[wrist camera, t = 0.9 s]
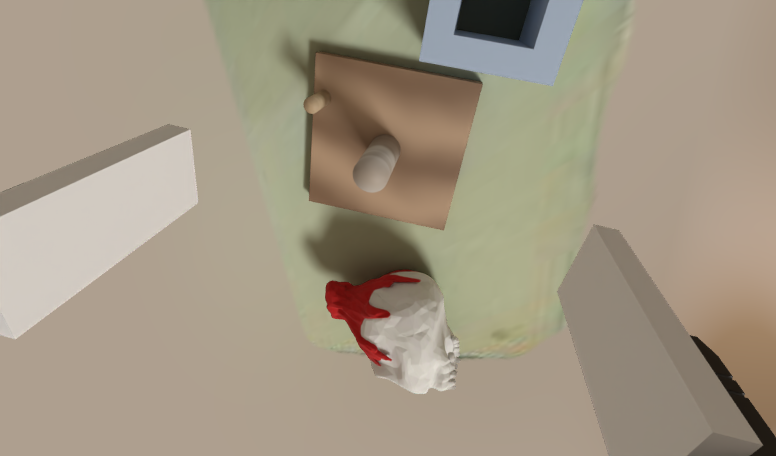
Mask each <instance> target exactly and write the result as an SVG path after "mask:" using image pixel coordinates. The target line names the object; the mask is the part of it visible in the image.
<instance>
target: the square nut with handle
mask: <svg viewBox="0 0 776 456" xmlns="http://www.w3.org/2000/svg"><path fill="white" fill-rule="evenodd" d="M582 3H583V0H531V2H530V5H529V8H528V12H527V15H526V19H525V22H524V25H523V29H522V32H521V35H520V39H519V40H513V39H508V38H502V37H497V36H491V35H485V34H480V33H474V32H469V31H463V30H458V29H456V28H457V23H458V19H459V14H460V9H461V5H462V0H430V2H429V7H428V13H427V19H426V24H425V30H424V36H423V41H422V47H421V52H420V58H419V61H421V62H427V63H432V64H437V65H443V66H448V67H453V68H459V69H464V70H470V71H475V72H480V73H486V74H491V75H496V76H502V77H507V78H512V79H518V80H523V81H528V82H534V83H539V84H544V85H550V86H553V84H554V81H555V78H556V76H557V73H558V70H559V67H560V65H561V62H562V59H563V56H564V53H565V51H566V48H567V45H568V42H569V39H570V37H571V34H572V31H573V28H574V25H575V23H576V20H577V17H578V14H579V11H580V9H581V6H582Z"/></svg>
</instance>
